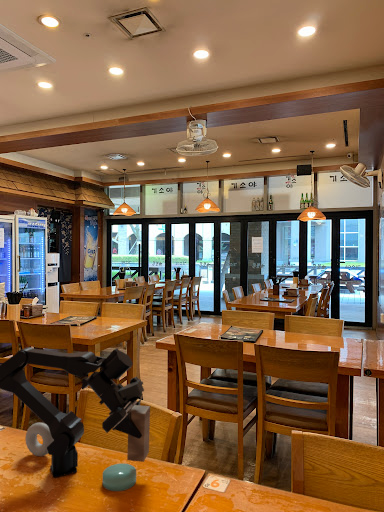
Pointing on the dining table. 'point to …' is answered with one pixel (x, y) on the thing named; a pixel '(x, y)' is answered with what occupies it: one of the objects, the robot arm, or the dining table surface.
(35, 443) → the donut
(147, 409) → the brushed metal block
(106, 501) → the dining table surface
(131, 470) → the teal base
